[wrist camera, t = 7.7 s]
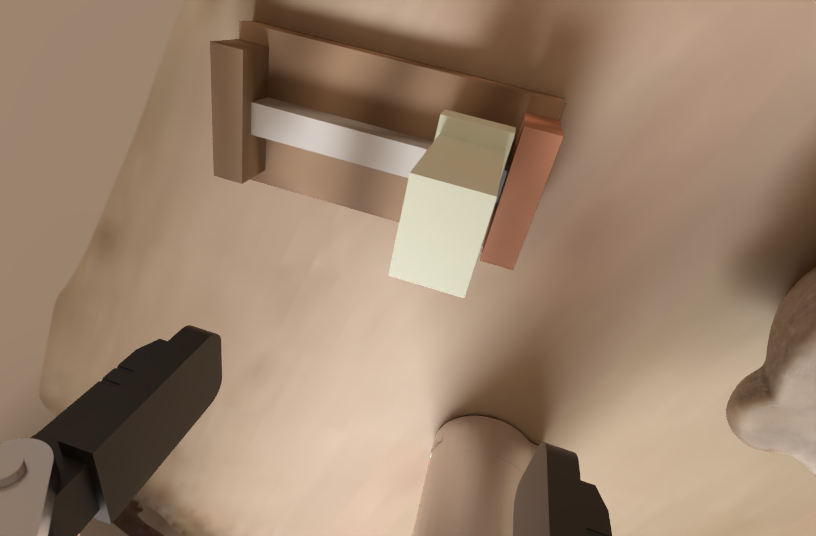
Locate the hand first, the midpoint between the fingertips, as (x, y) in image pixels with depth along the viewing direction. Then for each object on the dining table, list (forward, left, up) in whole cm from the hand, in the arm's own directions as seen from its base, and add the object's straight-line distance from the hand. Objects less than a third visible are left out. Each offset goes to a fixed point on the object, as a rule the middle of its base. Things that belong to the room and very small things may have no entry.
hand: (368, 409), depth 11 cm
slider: (0, 0, -20) cm, 20 cm away
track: (+6, 0, -22) cm, 23 cm away
